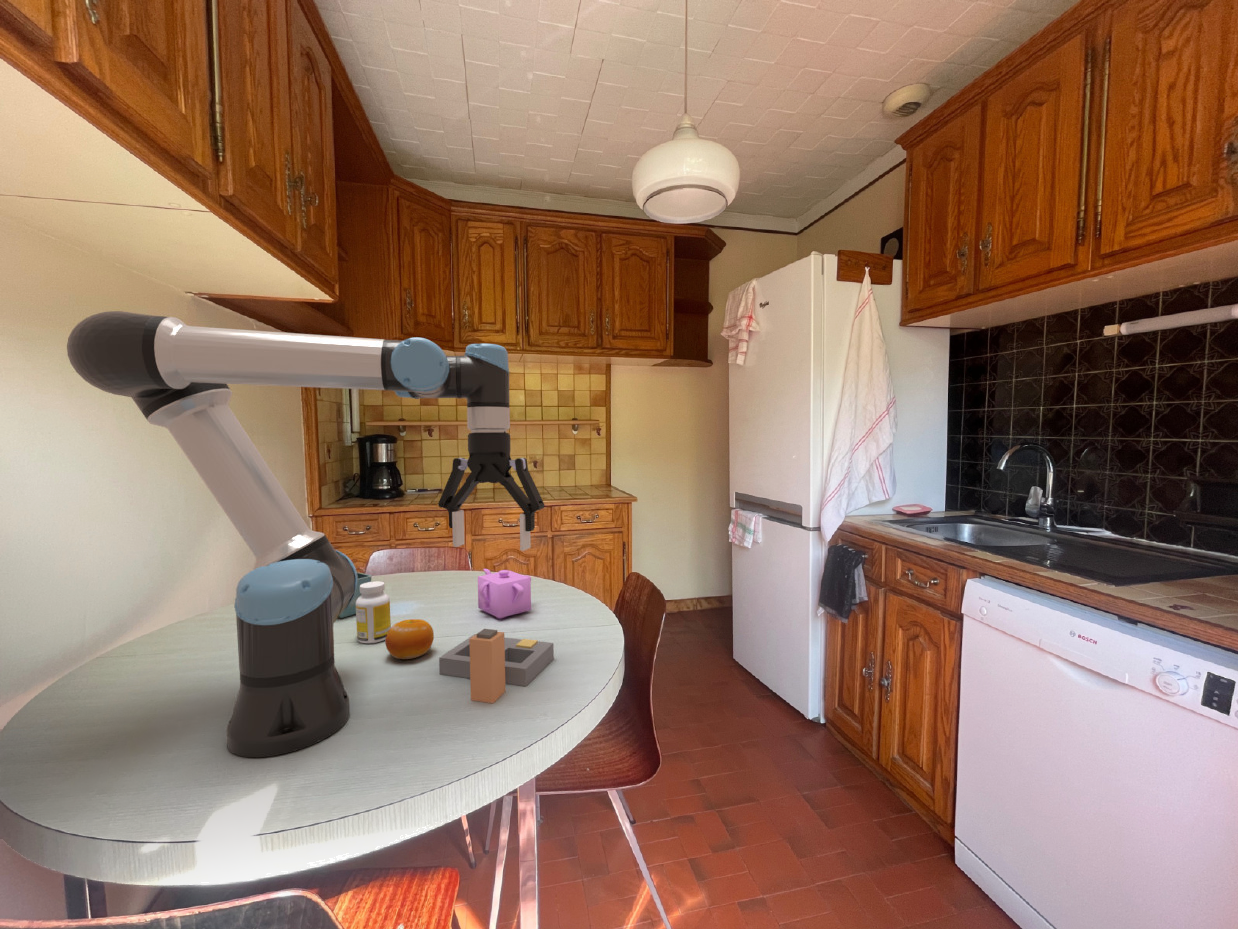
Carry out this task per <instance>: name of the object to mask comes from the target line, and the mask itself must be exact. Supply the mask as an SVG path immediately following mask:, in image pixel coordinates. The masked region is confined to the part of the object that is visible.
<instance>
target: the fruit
mask: <svg viewBox="0 0 1238 929" xmlns="http://www.w3.org/2000/svg"><path fill="white" fill-rule="evenodd" d="M434 637H435V634H434V629H433V627H432V625H431V624H430V623H429V622H428V621H426V620H424V619H421V618H420V619H419V618H415V619H412V618H411V619H405V620H404V619H403V620H401V621H399V622H396V623H395V624H393V625H391V628H390V630H389V631H388V634H387V636H386V639H385V640H384V641H385V647H386V650H387V651H388V652H389V654H390V655H392V656H393V658H396V659H398V660H411V659H416V658H418V657H421V656H423V655H425V654H426V653H427V652H428V651H429V650H430V649H431V646H432V645H433V642H434V639H435V638H434Z"/></svg>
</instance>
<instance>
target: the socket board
mask: <svg viewBox="0 0 1238 929" xmlns="http://www.w3.org/2000/svg"><path fill="white" fill-rule="evenodd" d="M476 634H477V633H474V634H472V635H470V636H469V637H468V638H467V639H465V640H463V641H462V642H461V643H459V644H457V645H456V646H453V648H451V649H450V650H449V651H447V652H445V653H444V654H442V655H441V656H439V657H438V662H439V663H438V664H439V666H438V669H439V675H443V676H450V677H457V678H465V679H470V644H469V639H470V638H472V637H473V636H475V635H476ZM504 643H505V685H514V686H520V687H527V686H528V685H529V684H531V682H532V681H533V680H534V679H535V678H536V677H537V676H538V675H539V674H540V673H541V672H542V671H543V670H544V669H545V668H546V667H547V666H548V665H549V664H550V663H551V662H552V661H553V660H554V659H555V658H554V657H555V653H554V648H555V647H554V642H549V641H540V640H537V639H527V638H522V639H521V638H513V637H505V636H504Z"/></svg>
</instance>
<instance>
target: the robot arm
mask: <svg viewBox="0 0 1238 929" xmlns="http://www.w3.org/2000/svg"><path fill="white" fill-rule="evenodd" d="M66 351H67V357H68V360H69V363H70V365H71V366H72V368H73V369H74V371H75V372H76V373H77V375H79V377H80V378H82V379H83V380H84V381H85V382H86V383H88V384H90V385H91V386H93V387H95V388H97V389H99V390H101V391H103V392H105V393H109V394H112V395H115V396H122V397H128V398H131V399H132V400H133V402H134V403H135V404H136V406H137V408H138V409H139V411H140V412H141V413H142V415H143V416H144V418H145V419H146V421H147V422H148V423H149V424H151V425H154V426H158V427H162V428H165V429H167V430H168V432H169V433H170V434H171V436H172V437H173V438H174V440H175V441H176V444H177V445H178V446H179V447H180V449H181V450H182V452H183V453H184V455H185V456H186V457H187V459H188V460H189V462H190V464H191V465H192V466H193V468H194V469H195V471H196V472H197V474H198V475H199V477H200V478H201V480H202V481H203V482H204V484H205V485H206V486H207V488H208V490H209V491H210V493H211V494H212V496H213V498H214V499H216V501H217V503H218V504H219V506H220V507H221V508H222V510H223V511H224V513H225V515H226V516H227V517H228V519H229V520H230V522H231V523H232V525H233V526H234V527H235V529H236V530H237V532H238V533H239V534H240V536H241V538H242V539H243V540H244V542H245V543H246V545H247V546H248V548H249V550H250V551H251V552H252V554H253V556H254V557H255V563H254V566H253V568H252V570H250V571H249V572H247V573H246V574H245V575H243V576H242V578H240V580H239V581H238V583H237V585H236V588H235V592H236V593H235V596H236V597H235V599H234V601H235V602H234V605H233V606H234V611H235V614H236V615H235V617H236V633H237V634H236V635H237V653H238V668H239V690H238V693H237V696H236V698H235V699H236V700H235V703H234V706H233V710H232V714H231V717H230V719H229V721H228V724H227V727H226V744H227V749H228V751H230V752H231V753H233V755H237V756H241V757H246V758H264V757H265V758H266V757H275V756H279V755H284V754H288V753H291V752H295V751H298V750H302V749H304V748H307V747H309V746H312V745H314V744H317V743H318V742H321V741H323V740H325V739H326V738H328V737H330V736H331V735H333V734H335V733H336V732H337V731H339V730H340V729H341V728H342V727H343V726H344V725H345V724H346V723H347V721H348V719H349V717H350V714H351V711H350V710H351V708H350V698H349V695H348V692H347V691H346V690H345V687H344V684H343V682H342V681H343V680H342V679H341V676H340V674H339V672H338V671H337V670H338V669H337V667H336V662H335V639H334V637H335V636H334V635H335V634H334V623H335V622H336V621H337V620H338V618H340V617H339V616H340V614H341V613H342V612H343V611H344V610H345V609H346V608H347V607H348V606H349V604H350V603H351V601H352V599H353V597H354V594H355V591H356V588H357V581H358V577H357V568H356V566H355V564H354V562H353V561H352V560H351V558H349V556H347V554H345V553H343V552H342V551H339V550H337V549H335V547H334V546H333V544H331V542H330V540H329V539H328V537H327V536H326V534H325V533H324V532H320V531H314V530H313V529H310V528H309V526H308V525H307V524H306V523H307V522H305V520H304V519H303V517H302V516H301V514H300V513H299V511H298V510H297V508H296V507H295V505H294V504H293V502H292V500H291V499H290V497H289V496H288V494H287V492H285V490H284V488H283V487H282V485H281V483H280V482H279V481H278V478H276V476H275V474H274V473H273V472H272V470H271V469H270V467H269V466H268V463H267V462H266V461H265V459H264V458H263V456H262V454H261V453H260V451H259V450H258V449H257V447H256V446H255V444H254V442H253V441H252V438H250V436H249V435H248V433H247V432H246V430H245V429H244V427H243V426H242V425H241V423H240V420H238V418H237V416H236V415H235V414H234V412H233V410H232V409H231V408H230V406H229V404H230V401H231V398H232V396H233V392H232V390H231V388H230V387H229V385H248V386H251V385H253V386H273V387H274V386H275V387H277V386H278V387H296V388H297V387H299V388H300V387H302V388H322V389H323V388H324V389H325V388H326V389H348V390H350V389H351V390H352V389H353V390H370V391H371V390H375V391H377V390H378V391H391V392H394V393H395V395H396V396H398V397H400V398H404V399H405V398H407V399H409V398H410V399H415V400H419V399H466V418H467V419H466V422H467V423H466V425H467V427H466V428H467V429H468V430H469V431H470V432H469V433H468V434H467V452H468V454H469V457H468V459H466V458H465V457H454V458H453V459H452V468H451V472H450V475H449V477H448V479H447V482H446V484H445V486H444V488H443V491H442V494H441V495H440V496H441V497H440V499H439V501H438V505H437V506H438V507H439V508H444V509H445V510H446V511H447V512H448V527H449V529H452V548H459V547H461V546H463V545H465V516H464V515H465V512H464V509H462V506H463V504H464V502H466V500H467V499H468V497H469V496H470V495H471V493H473V491H474V489H475V488H476V486H478V485H479V484H485V483H490V484H497V483H499V484H500V485H501V486H503V487H504V489H505V490H506V491H507V493H509V495H510V496H511V498H512V499H513V500H514V501H515V503H516V504H517V505H518V506H519V508H520V509H521V510H522V511H523V512H522V513H520V514H519V540H520V541H519V544H520V545H519V546H520V547H519V550H520V551H522V552H525V551H527V550H528V549H530V548H531V546H532V545H531V542H532V541H531V532H532V531H535V526H536V525H535V524H536V523H535V522H536V521H535V515H536V512H537V511H540V510H542V509H544V508H545V502H544V500H543V499H542V496H541V494H540V492H539V490H538V487H537V486H536V484H535V482H534V480H533V477H532V476H531V473H530V471H529V467H528V461H527V459H526V458H525V457H519V458H515V459H512V458H511V434H510V433H509V432H508V430H510V428H511V424H510V423H511V420H510V419H511V417H510V415H511V414H510V413H511V412H510V410H511V409H510V367H509V352H508V351H507V349H506V348H505V347H504V346H502V345H501V344H500V345H499V344H495V343H470V344H468V345H467V346H466V348H465V352H464V355H463V354H462V355H446V353H445V351H444V350H443V349H442V348H441V347H440V346H439V345H438V344H436V343H435V342H433V341H431V340H430V339H427V338H426V337H425V338H424V337H417V336H416V337H410V338H406V339H404V340H397V339H383V338H381V339H380V338H371V337H370V338H367V337H355V336H354V337H353V336H338V335H326V334H325V335H323V334H311V333H307V334H306V333H295V332H281V331H268V330H267V331H264V330H253V329H252V330H251V329H250V330H249V329H238V328H237V329H236V328H224V327H222V328H221V327H207V326H196V325H195V326H193V325H187V324H186V323H185V322H184V321H182V320H181V319H179V317H175V316H174V317H173V316H165V315H163V316H161V315H152V314H145V313H137V312H136V313H135V312H128V311H120V310H116V311H112V310H111V311H103V312H97V313H95V314H92V315H90V316H88V317H85V318H84V319H82V320H81V321H79V322H78V323H77V324H76V325H75V326H74V328H72V330H71V332H70V334H69V336H68V337H67V342H66ZM512 468H513V471H515V472H516V475H517V477H518V479H519V481H520V483H521V486H522V488H523V489H521V486H519V485H518V484H517V482H516V481H515V478H514V477H513V475H512V474H511V473H510V470H511V469H512ZM467 469H469V470H470V473H469V475H468V476H467V477H466V478H465V482H464V483H463V484H462V485H461V487H460V489H459V486H460V483H461V482H462V480H463V477H464V475H465V471H466V470H467ZM523 490H524V491H523Z"/></svg>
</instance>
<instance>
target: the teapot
mask: <svg viewBox="0 0 1238 929" xmlns="http://www.w3.org/2000/svg"><path fill="white" fill-rule="evenodd" d="M483 571H484V575H478V576H477V606H478V608H477V609H479V610H482V611H484V612H485V613H486V614H490V615H492V616H493V617H496V619H504V618H506V617H509V616H514V615H517V614H522V613H523V612H527V611H532V594H531V593H532V590H531V588H532V587H531V584H532V583H531V581H532V577H531V576H530V575H528V574H527V575H526V574H524V575H523V574H520V573H518V572H515V571H512V570H510V569H501V570H499V571H497V572H493V573H492V572H491V570H489V569H488V568H483Z"/></svg>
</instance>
